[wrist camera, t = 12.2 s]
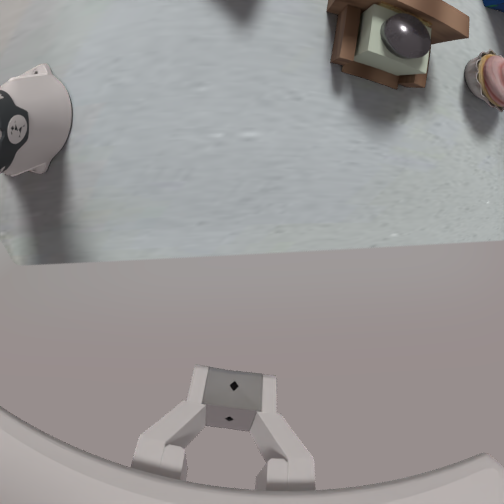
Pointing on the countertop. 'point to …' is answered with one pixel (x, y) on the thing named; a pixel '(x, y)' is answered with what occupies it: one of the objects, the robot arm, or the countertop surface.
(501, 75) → the cupcake
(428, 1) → the walnut mount
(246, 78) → the countertop surface
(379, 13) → the sliding knob
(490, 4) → the pasta box
